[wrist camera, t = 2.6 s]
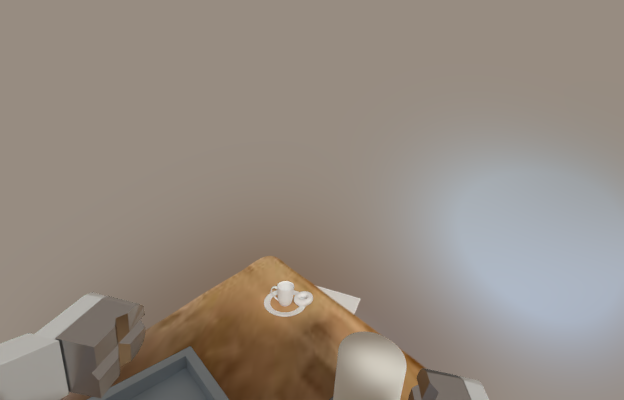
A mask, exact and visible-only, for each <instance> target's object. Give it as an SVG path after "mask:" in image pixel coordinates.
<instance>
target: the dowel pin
mask: <svg viewBox="0 0 624 400" xmlns="http://www.w3.org/2000/svg"><path fill="white" fill-rule="evenodd" d="M405 373H406V360H405V357H404V355H403V353H402V351H401V350H400V349H399V347H398V346H397V345H396V344H394V343H393V342H392V341H391V340H389V339H388V338H386V337H384V336H382V335H379V334H376V333H372V332H357V333H353V334H350V335H348V336H347V337H346V338H344V339H343V341H342V342H341V344H340V346H339V350H338V358H337V368H336V377H335V386H334V395H333V400H400V397H401V393H402V388H403V383H404V378H405Z"/></svg>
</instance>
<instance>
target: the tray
mask: <svg viewBox="0 0 624 400" xmlns="http://www.w3.org/2000/svg"><path fill="white" fill-rule="evenodd" d="M87 400H229V399H228V397H227V396H226V395H225V393H224V392H223V390H222V389H221V388H220V386H219V385H218V383H217V382H216V381H215V379H214V378H213V376H212V375H211V374H210V372H209V371H208V369H207V368H206V367H205V365H204V364H203V363H202V361H201V360H200V358H199V357H198V356H197V354H196V353H195V351H194V350H193V349H192V347H191V346H189V347H188V348H186V349H184V350H182V351H180V352H178V353H176V354H174V355H172V356H170V357H168V358H166V359H164V360H162V361H161V362H159V363H157V364H155V365H153V366H151V367H149V368H147V369H145V370H143V371H141V372H139V373H137V374H135V375H133V376H132V377H130V378H128V379H126V380H124V381H122V382H120V383H118V384H116V385H114V386H112V387H110V388H109V389H108V391H107V392H106V393H105V394H104V396H103V397H102V398H97V397H91V398H89V399H87Z"/></svg>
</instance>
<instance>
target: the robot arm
mask: <svg viewBox="0 0 624 400" xmlns="http://www.w3.org/2000/svg"><path fill="white" fill-rule="evenodd" d="M144 315H145V314H144V306H143V305H140V304H137V303H133V302H129V301H125V300H121V299H118V298H114V297H110V296H105V295H101V294H96V293H93V292H92V293H89V294H86V295H84V296H83V297H82V298H81V299H79V300H78V301H77V302H75V303H74V304H73V305H71V306H70V307H69V308H67V309H66V310H65V311H64V312H62V313H61V314H60V315H59V316H57V317H56V318H55V319H53V320H52V321H51V322H49V323H48V324H47V325H46V326H44V327H43V328H42V329H41V330H39V331H38V332H37V333H35V334H30V333H28V334H25V335H22V336H20V337H17V338H14V339H12V340H9V341H6V342H3V343H1V344H0V400H60V399H62V398H64V397H65V396H67V395H68V394H69V392H73V393H78V394H82V395H87V396H92V397H97V398H102V397H103V396H104V394H105V393H106V392H107V391H108V389H109V388H110V387H111V386H112V384H113V383H114V382H115V381H116V379H117V378H118V377H119V376H120V367H121V366H123V365H124V364H126V363H128V362H130V361H132V359H133V358H134V357H135V355H136V354H137V353H138V351H139V349H140V347H141V345H142V343H143V341H144V337H145V326H144V324H143V323H142V322H141V320H140V319H141V318H142V317H143V316H144ZM417 381H418V385H417V386H415V387H413V388H412V389H411V392H410V394H409V398H408V400H489V398H488V396H487V394H486V392H485V390H484V388H483V385H482V384H481V383H480V382H479V381H478V380H475V379H470V378H466V377H461V376H456V375H453V374H448V373H443V372H438V371H434V370H430V369H425V368H422V369H421V370H420V371H419V373H418V375H417Z"/></svg>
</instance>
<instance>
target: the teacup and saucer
mask: <svg viewBox="0 0 624 400" xmlns="http://www.w3.org/2000/svg"><path fill="white" fill-rule="evenodd" d="M273 288H275V289H277V290H276V291H273V292H272V289H273ZM275 295H278V298H277V297H276V296H275ZM293 295H295V296H294V302H295V304H296V305H298V306H299V307H298V308H297V309H296V310H294V311H292V312H278V311H276V310H274V309H273V308H272V307H271V305H270V300H271V299H272V298H273V297H274V298H275V299H276V300H277V301H279V303H280V305H281V306H289V305H290V304H291V302H292V299H293ZM312 301H313V295H312V294H311V293H310V292H307V291H302V292H298V291H295V290H294V284H293V283H292V282H289V281H282V282H280V283H278V285H277V286H273V287H272V288H271V293H270V294H268V295H267V296H266V298H265V300H264V306H265V308H266V310H267V311H268V312H270V313H271V314H274V315H276V316H282V317H288V316H294V315H296V314H299V313H300V312H302V311H303V310H304V309H305V307H306V306H307V305H309V304H310V303H311V302H312Z"/></svg>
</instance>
